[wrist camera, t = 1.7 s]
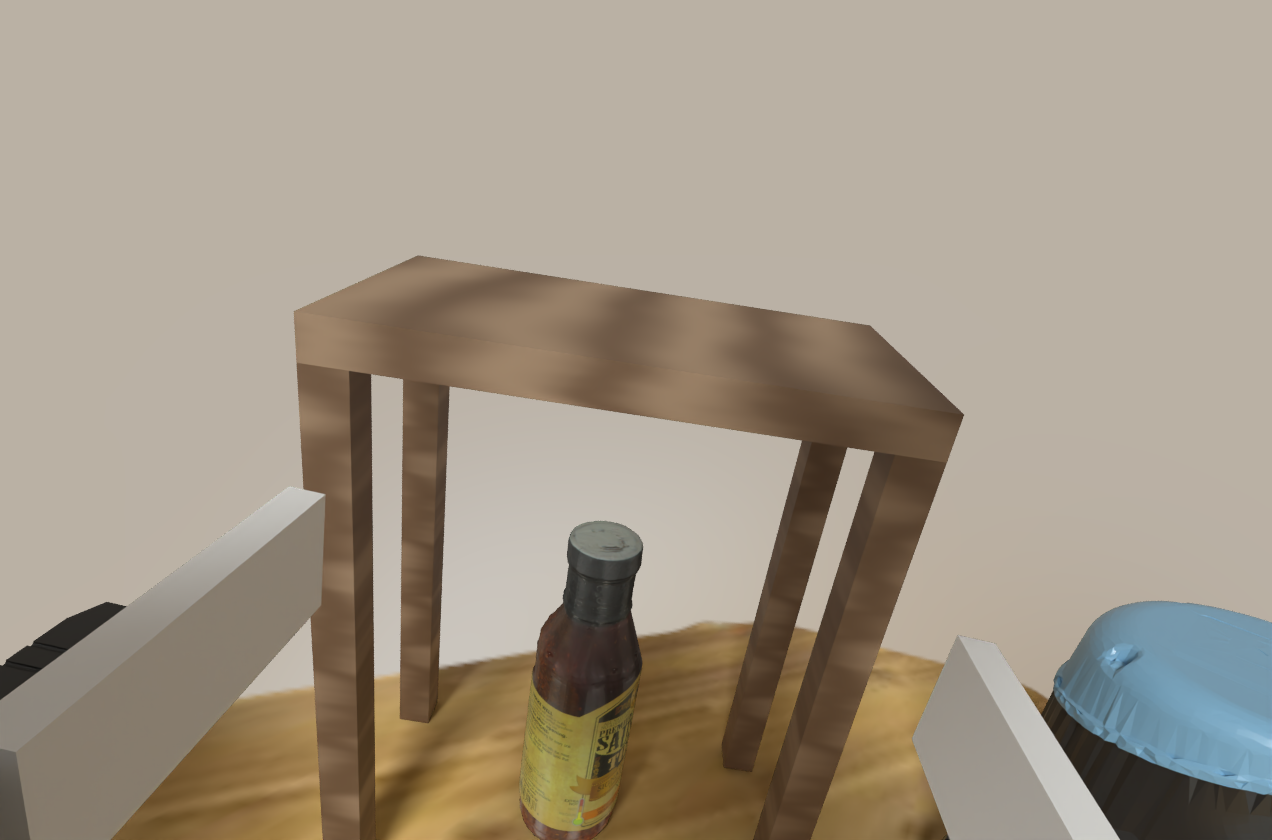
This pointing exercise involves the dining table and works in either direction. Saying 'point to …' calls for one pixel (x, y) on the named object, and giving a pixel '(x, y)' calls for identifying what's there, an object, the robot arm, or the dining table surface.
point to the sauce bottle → (583, 689)
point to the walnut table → (627, 383)
